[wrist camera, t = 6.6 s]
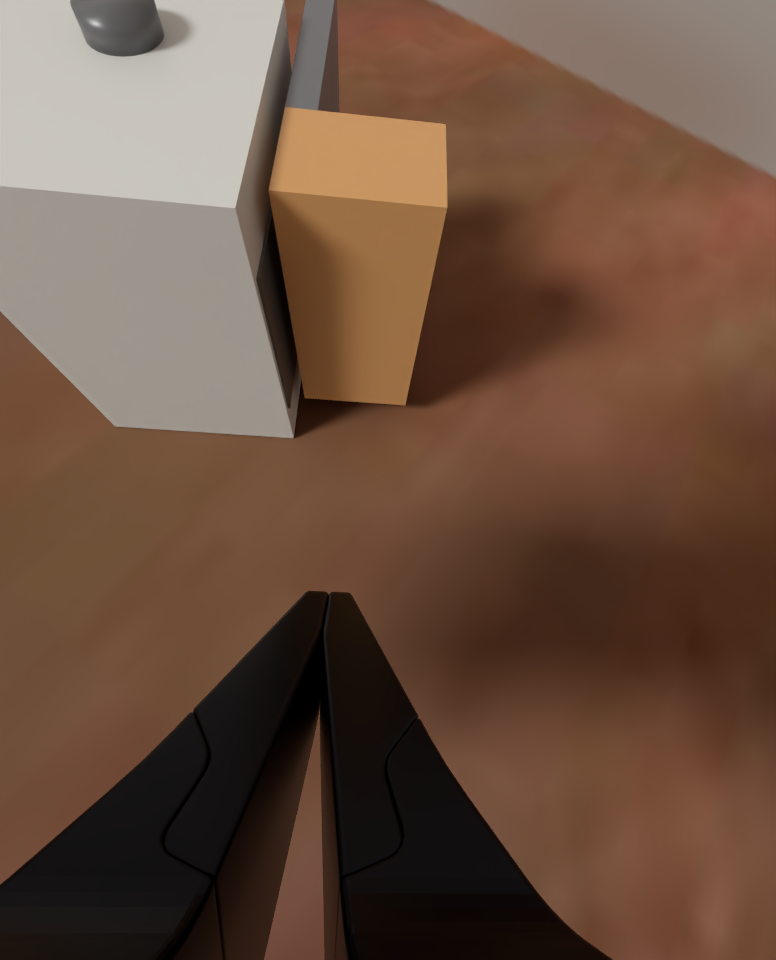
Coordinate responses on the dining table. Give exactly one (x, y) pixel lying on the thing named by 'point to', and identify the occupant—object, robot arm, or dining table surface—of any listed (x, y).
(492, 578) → the dining table surface
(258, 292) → the block
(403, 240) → the side door
